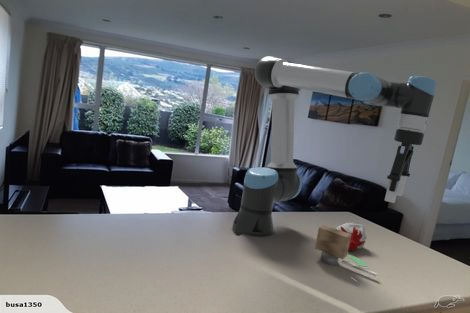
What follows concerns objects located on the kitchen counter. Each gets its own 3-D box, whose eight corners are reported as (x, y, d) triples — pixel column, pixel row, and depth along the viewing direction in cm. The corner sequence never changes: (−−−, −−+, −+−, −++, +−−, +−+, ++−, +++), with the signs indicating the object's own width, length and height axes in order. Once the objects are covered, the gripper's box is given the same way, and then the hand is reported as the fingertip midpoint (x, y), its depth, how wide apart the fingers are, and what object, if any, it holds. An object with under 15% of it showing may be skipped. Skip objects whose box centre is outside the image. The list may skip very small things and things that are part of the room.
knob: (312, 257, 106) (318, 227, 105) (318, 253, 110) (324, 224, 109) (372, 282, 96) (380, 249, 94) (377, 276, 100) (384, 244, 98)
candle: (360, 242, 129) (366, 263, 114) (330, 235, 131) (332, 255, 116) (366, 221, 126) (373, 240, 112) (335, 214, 128) (338, 232, 114)
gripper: (419, 131, 88) (400, 209, 91) (428, 132, 108) (412, 195, 112) (389, 126, 92) (371, 200, 95) (403, 128, 112) (388, 189, 116)
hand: (393, 198), depth 104 cm, fingers open, 13 cm apart
